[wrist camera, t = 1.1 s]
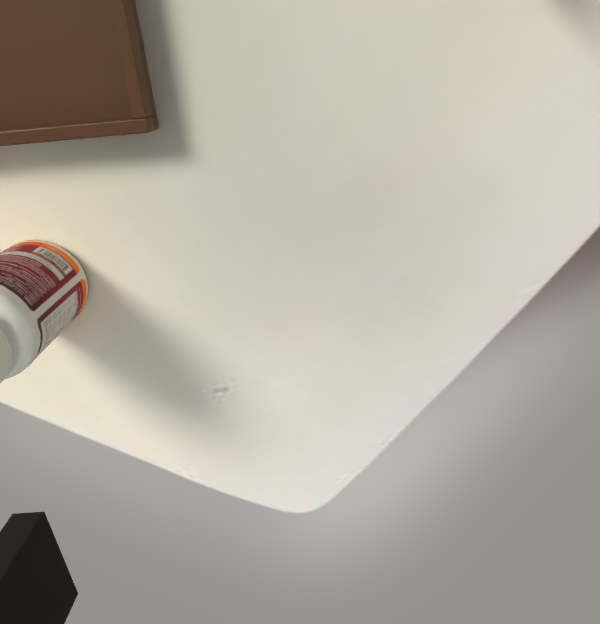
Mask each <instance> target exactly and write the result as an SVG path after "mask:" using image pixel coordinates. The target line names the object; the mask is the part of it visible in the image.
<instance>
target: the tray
mask: <svg viewBox="0 0 600 624" xmlns="http://www.w3.org/2000/svg"><path fill="white" fill-rule="evenodd" d="M157 129H159V127H158V122H157V116H156V111H155V106H154V101H153V95H152V90H151V85H150V79H149V74H148V69H147V63H146V58H145V53H144V48H143V42H142V37H141V32H140V26H139V21H138V16H137V10H136V5H135V0H0V146H5V145H16V144H28V143H39V142H50V141H61V140H72V139H83V138H94V137H105V136H117V135H128V134H139V133H149V132H151V131H154V130H157Z"/></svg>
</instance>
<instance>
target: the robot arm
mask: <svg viewBox="0 0 600 624" xmlns="http://www.w3.org/2000/svg"><path fill="white" fill-rule="evenodd" d="M77 595H78V592H77V590H76V587H75V585H74V583H73V580H72V578H71V576H70V573H69V571H68V568H67V566H66V564H65V561H64V558H63V556H62V554H61V551H60V549H59V546H58V544H57V542H56V539H55V537H54V535H53V532H52V529H51V527H50V525H49V522H48V520H47V517H46V515H45V513H44V512H35V513H19V514H12V516H11V517H10V519H9V520H8V522H7V523H6V524H5V526H4V527H3V529H2V530H1V532H0V624H64V623H65V621H66V618H67V616H68V614H69V612H70V610H71V608H72V606H73V603H74V601H75V599H76V597H77Z"/></svg>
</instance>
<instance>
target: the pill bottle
mask: <svg viewBox="0 0 600 624" xmlns="http://www.w3.org/2000/svg"><path fill="white" fill-rule="evenodd" d="M87 297H88V283H87V278H86V275H85V273H84V271H83V269H82V267H81V265H80V264H79V262H78V261H77V260H76V259H75V258H74V257H73V256H72V255H71V254H70V253H69V252H67V251H66V250H64V249H63V248H61V247H59V246H57V245H55V244H52V243H49V242H45V241H39V240H29V241H23V242H20V243H17V244H15V245H13V246H11V247H10V248H8V249H6V250H4V251H3V252H1V253H0V383H1V382H2V381H3V380H4V379H7V378H10V377H12V376H15V375H17V374H18V373H20V372H21V371H23V370H24V369H25V368H26V367H28V366H29V365H30V364H31V363H32V362H33V361H34V360H35V358H36V357H37V356H38V355H39V354H40V353H41V352H42V351H43V350H44V349H45V348H46V347H47V346H48V345H49V344H50V343H51V342H52V341H53V340H54V339H55V338H56V337H57V336H58V335H59V333H60V332H61V331H62V330H63V329H64V328H65V327H66V326H67V325H68V324H69V323H70V322H71V321H72V320H73V319H74V318H75V317H76V316H77V315H78V314H79V313H80V311H81V310H82V308H83V307H84V305H85V303H86V300H87Z"/></svg>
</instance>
